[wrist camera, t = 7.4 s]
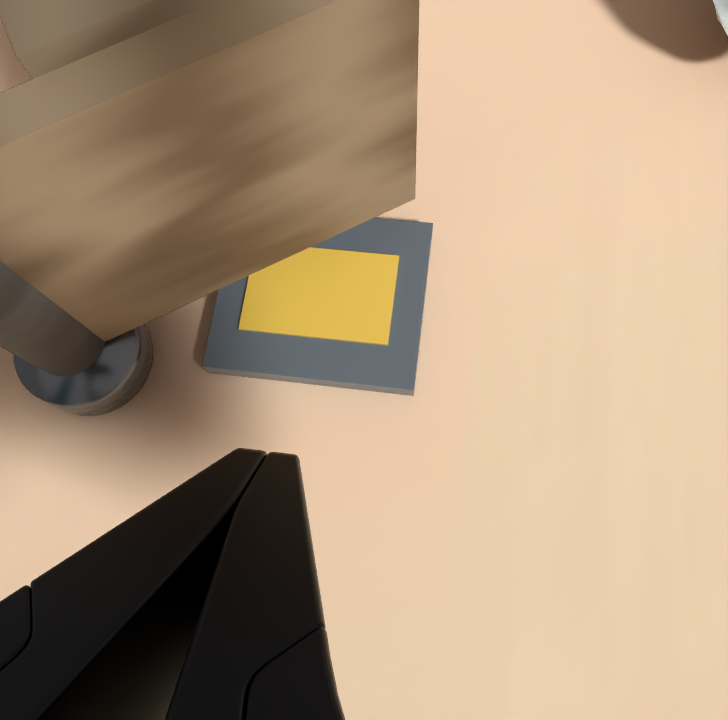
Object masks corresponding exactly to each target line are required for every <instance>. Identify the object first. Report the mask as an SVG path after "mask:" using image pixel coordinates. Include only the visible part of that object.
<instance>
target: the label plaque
mask: <svg viewBox="0 0 728 720" xmlns="http://www.w3.org/2000/svg"><path fill="white" fill-rule="evenodd" d="M432 228H433V223H425V222H414V221H403V220H391V219H380V218H372V219H370V220H368V221H366V222H364V223H361V224H359V225H357V226H355V227H353V228H351V229H348V230H346V231H344V232H342V233H340V234H338V235H335V236H333V237H331V238H329V239H327V240H325V241H322V242H320V243H318V244H316V245H314V246H312V247H309V248H307V249H305V250H303V251H301V252H299V253H296V254H294V255H292V256H290V257H288V258H286V259H283V260H281V261H279V262H277V263H275V264H273V265H270V266H268V267H266V268H264V269H262V270H260V271H257V272H255V273H253V274H251V275H249V276H247V277H245V278H242V279H240V280H238V281H236V282H234V283H232V284H229V285H227V286H225V287H223V288H221V289H219V290H218V293H217V297H216V302H215V307H214V312H213V316H212V321H211V326H210V331H209V335H208V340H207V345H206V349H205V354H204V359H203V364H202V367H203V368H204V369H205V370H206V371H207V372H208V373H216V374H225V375H234V376H243V377H252V378H261V379H270V380H278V381H287V382H296V383H305V384H314V385H323V386H332V387H341V388H349V389H358V390H367V391H376V392H385V393H394V394H403V395H412V396H414V387H415V379H416V370H417V361H418V352H419V344H420V335H421V326H422V317H423V309H424V300H425V291H426V282H427V274H428V265H429V256H430V247H431V239H432Z"/></svg>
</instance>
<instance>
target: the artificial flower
mask: <svg viewBox="0 0 728 720" xmlns="http://www.w3.org/2000/svg"><path fill="white" fill-rule="evenodd" d="M713 2H714V5H715V9H716V15H717V19H718V20H719V22H720V23H721V25H722V26H723V28H724V30H725V32H726V34H727V36H728V0H713Z"/></svg>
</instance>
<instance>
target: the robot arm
mask: <svg viewBox="0 0 728 720" xmlns="http://www.w3.org/2000/svg"><path fill="white" fill-rule="evenodd" d="M0 720H345V718H344V714H343V711H342V707H341V704H340V700H339V696H338V692H337V687H336V682H335V677H334V672H333V668H332V663H331V658H330V651H329V645H328V638H327V632H326V630H325V621H324V615H323V608H322V602H321V595H320V589H319V583H318V576H317V570H316V563H315V557H314V551H313V544H312V538H311V531H310V525H309V519H308V512H307V506H306V499H305V493H304V487H303V480H302V474H301V467H300V461H299V458H298V456H297V455H294V454H286V453H277V452H271V453H269V454H268V455H267V453H266V452H265V451H261V450H253V449H245V448H238V449H236V450H234V451H232V452H231V453H229V454H228V455H226V456H224V457H223V458H221V459H220V460H218V461H217V462H215V463H214V464H212V465H211V466H209V467H207V468H206V469H204V470H203V471H201V472H200V473H198V474H197V475H195V476H194V477H192V478H190V479H189V480H187V481H186V482H184V483H183V484H181V485H180V486H178V487H177V488H175V489H173V490H172V491H170V492H169V493H167V494H166V495H164V496H163V497H161V498H160V499H158V500H157V501H155V502H153V503H152V504H150V505H149V506H147V507H146V508H144V509H143V510H141V511H140V512H138V513H136V514H135V515H133V516H132V517H130V518H129V519H127V520H126V521H124V522H123V523H121V524H119V525H118V526H116V527H115V528H113V529H112V530H110V531H109V532H107V533H106V534H104V535H102V536H101V537H99V538H98V539H96V540H95V541H93V542H92V543H90V544H89V545H87V546H85V547H84V548H82V549H81V550H79V551H78V552H76V553H75V554H73V555H72V556H70V557H69V558H67V559H65V560H64V561H62V562H61V563H59V564H58V565H56V566H55V567H53V568H52V569H50V570H48V571H47V572H45V573H44V574H42V575H41V576H39V577H38V578H36V579H35V580H33V581H32V582H31V588H30V587H29V586H27V585H26V586H23V587H22V588H20V589H19V590H17V591H16V592H14V593H13V594H11V595H9V596H8V597H6V598H5V599H3V600H2V601H0Z"/></svg>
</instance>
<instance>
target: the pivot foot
mask: <svg viewBox="0 0 728 720" xmlns="http://www.w3.org/2000/svg"><path fill="white" fill-rule="evenodd" d="M152 360H153V346H152V341H151V337H150V335H149V332H148V330H147V328H146V327H145V325H144V324H143V325H141V326H138V327H136V328H134V329H132V330H130V331H128V332H125V333H123V334H121V335H119V336H117V337H115V338H112V339H110V340H108V341H106V342H105V344H104V347H103V350H102V352H101V354H100V356H99V357H98V358H97V360H96V361H95V362H94V363H93V364H92V365H91V366H90V367H88V368H87V369H86V370H84V371H82V372H80V373H78V374H75V375H71V376H55V375H51V374H49V373H47V372H45V371H43V370H41V369H40V368H38V367H36V366H34V365H33V364H31V363H29V362H27V361H25V360H24V359H22V358H20V357H18V356H17V355H15V354H14V364H15V369H16V372H17V374H18V376H19V378H20V380H21V382H22V383H23V385H24V386H25V387H26V388H27V389H28V390H29V391H30V392H31V393H32V394H34V395H35V396H36V397H38V398H40V399H42V400H44V401H46V402H48V403H50V404H52V405H54V406H56V407H59V408H61V409H63V410H65V411H67V412H70V413H72V414H76V415H83V416H93V415H100V414H105V413H108V412H110V411H113V410H115V409H117V408H119V407H121V406H122V405H124V404H125V403H127V402H128V401H129V400H130V399H132V398H133V397H134V396H135V395H136V394H137V392H138V391H139V390H140V389H141V387H142V386H143V384H144V383H145V381H146V379H147V377H148V375H149V372H150V369H151V366H152Z"/></svg>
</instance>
